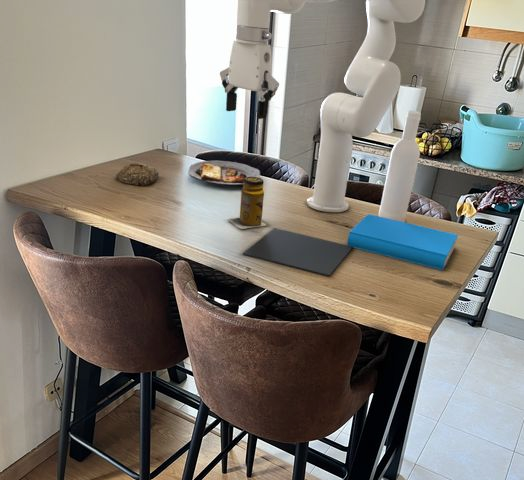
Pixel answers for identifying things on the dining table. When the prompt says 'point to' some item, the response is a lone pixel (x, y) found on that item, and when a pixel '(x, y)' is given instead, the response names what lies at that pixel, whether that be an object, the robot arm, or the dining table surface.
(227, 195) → the dining table surface
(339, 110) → the robot arm
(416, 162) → the bottle
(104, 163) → the dining table surface
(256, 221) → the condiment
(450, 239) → the book
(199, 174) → the food plate
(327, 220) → the dining table surface
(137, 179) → the bread roll
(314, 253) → the mat
